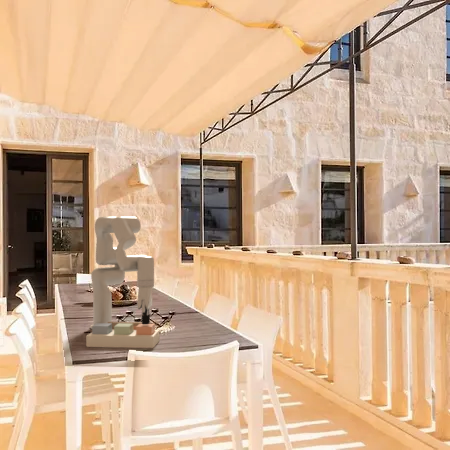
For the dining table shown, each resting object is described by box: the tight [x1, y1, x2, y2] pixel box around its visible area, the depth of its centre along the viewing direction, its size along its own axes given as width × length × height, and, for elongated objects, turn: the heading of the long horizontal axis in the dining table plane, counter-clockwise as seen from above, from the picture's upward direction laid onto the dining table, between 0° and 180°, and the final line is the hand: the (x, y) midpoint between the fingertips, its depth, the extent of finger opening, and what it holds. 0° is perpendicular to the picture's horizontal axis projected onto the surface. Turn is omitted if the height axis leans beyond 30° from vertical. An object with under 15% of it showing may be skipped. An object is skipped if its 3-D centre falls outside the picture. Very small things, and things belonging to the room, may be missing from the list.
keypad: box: [85, 321, 161, 349], centre depth 232 cm, size 30×17×8 cm, turn 86°
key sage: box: [114, 323, 133, 335], centre depth 231 cm, size 7×7×4 cm
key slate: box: [91, 323, 112, 334], centre depth 232 cm, size 7×7×4 cm
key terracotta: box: [136, 323, 156, 335], centre depth 230 cm, size 7×7×4 cm
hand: (145, 323), depth 230 cm, fingers closed
